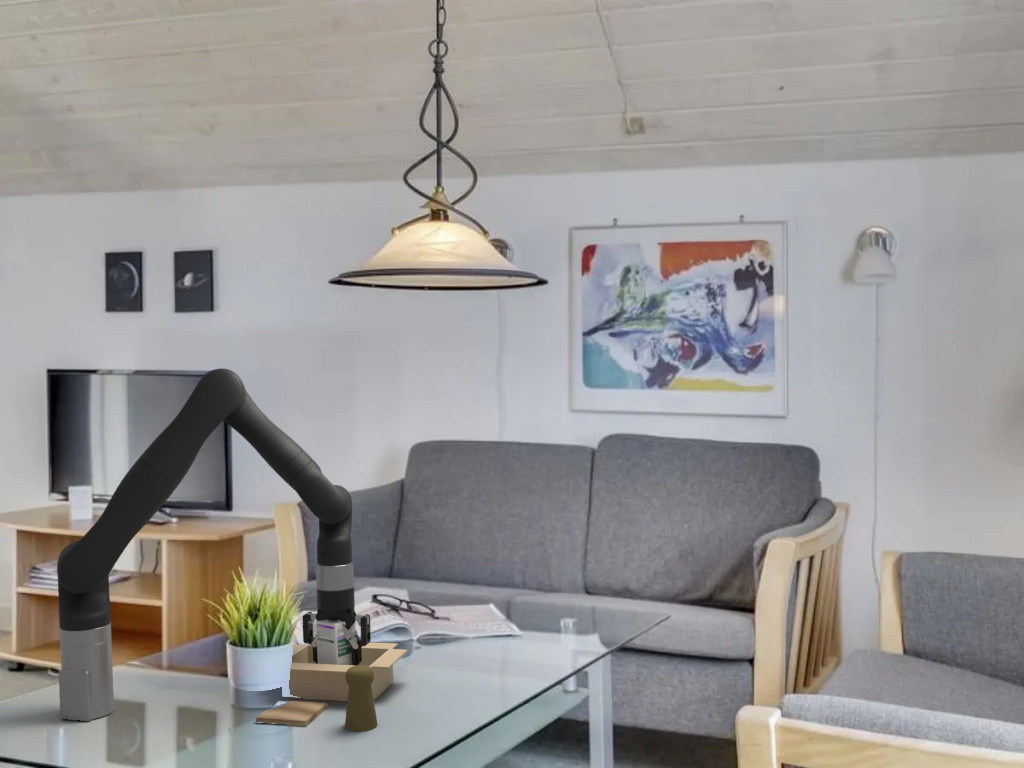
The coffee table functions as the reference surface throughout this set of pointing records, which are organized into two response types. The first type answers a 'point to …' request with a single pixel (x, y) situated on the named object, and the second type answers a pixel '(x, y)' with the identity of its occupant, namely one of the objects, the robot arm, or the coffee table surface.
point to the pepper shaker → (360, 699)
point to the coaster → (293, 713)
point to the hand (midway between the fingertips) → (337, 664)
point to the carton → (340, 672)
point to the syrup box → (333, 643)
